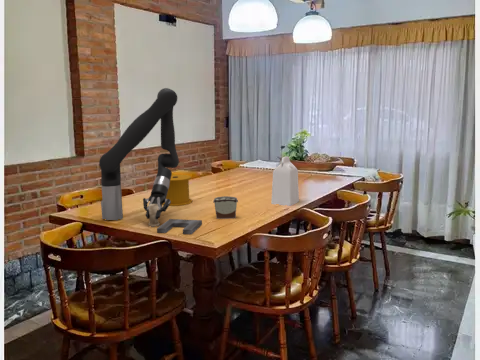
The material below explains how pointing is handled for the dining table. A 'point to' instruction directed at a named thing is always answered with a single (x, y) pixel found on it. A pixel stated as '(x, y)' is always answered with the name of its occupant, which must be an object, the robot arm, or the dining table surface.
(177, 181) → the spool
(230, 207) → the food container
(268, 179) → the dining table surface
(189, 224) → the notched board
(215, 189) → the dining table surface
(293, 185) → the milk
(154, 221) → the bobbin
